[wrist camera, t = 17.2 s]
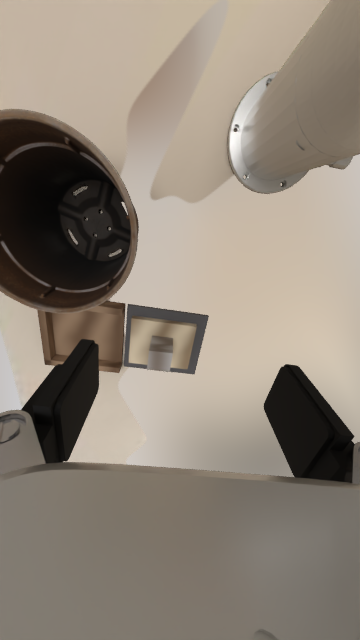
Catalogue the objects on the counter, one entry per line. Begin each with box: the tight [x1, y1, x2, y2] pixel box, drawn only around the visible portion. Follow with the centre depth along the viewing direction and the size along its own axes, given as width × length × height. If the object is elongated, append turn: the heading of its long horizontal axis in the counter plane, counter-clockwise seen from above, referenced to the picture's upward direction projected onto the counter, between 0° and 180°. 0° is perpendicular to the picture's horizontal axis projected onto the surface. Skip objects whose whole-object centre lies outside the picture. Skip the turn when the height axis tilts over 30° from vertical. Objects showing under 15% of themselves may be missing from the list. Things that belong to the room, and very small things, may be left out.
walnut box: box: [37, 301, 125, 373], centre depth 41 cm, size 14×14×3 cm
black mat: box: [124, 304, 209, 374], centre depth 43 cm, size 15×14×1 cm
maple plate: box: [129, 316, 197, 372], centre depth 40 cm, size 12×10×6 cm
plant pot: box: [0, 109, 138, 313], centre depth 26 cm, size 16×16×16 cm
